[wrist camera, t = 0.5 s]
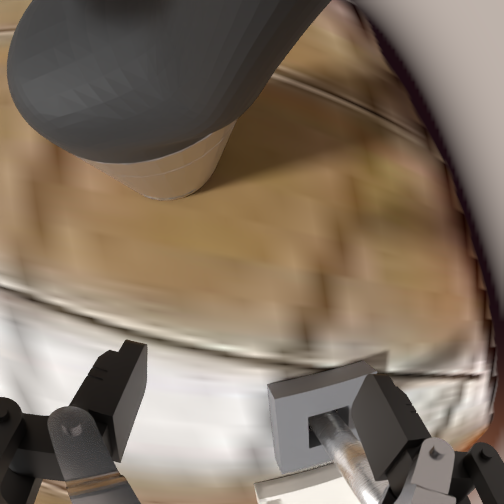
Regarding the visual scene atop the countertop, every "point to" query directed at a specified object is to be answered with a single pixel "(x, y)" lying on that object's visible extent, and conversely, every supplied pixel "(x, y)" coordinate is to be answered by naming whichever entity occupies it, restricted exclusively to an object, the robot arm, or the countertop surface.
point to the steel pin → (347, 456)
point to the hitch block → (311, 412)
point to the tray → (307, 488)
